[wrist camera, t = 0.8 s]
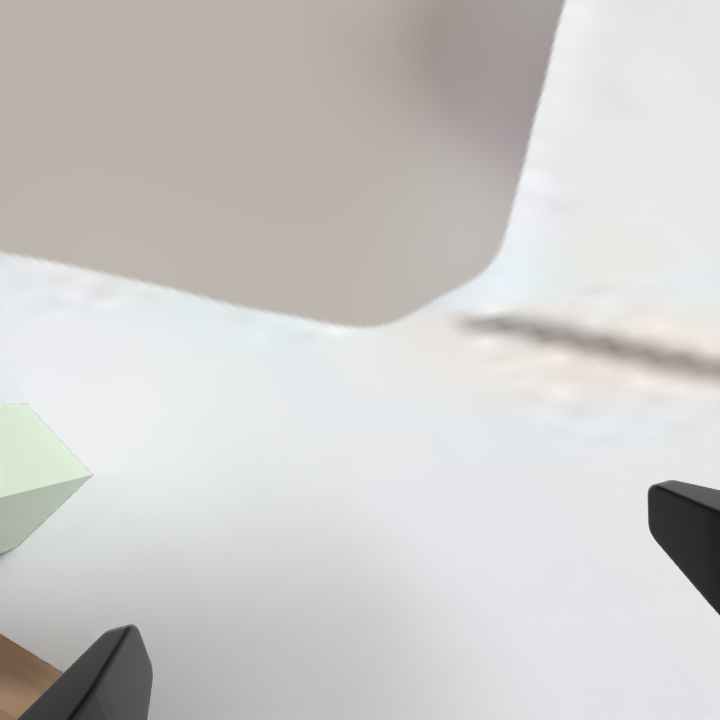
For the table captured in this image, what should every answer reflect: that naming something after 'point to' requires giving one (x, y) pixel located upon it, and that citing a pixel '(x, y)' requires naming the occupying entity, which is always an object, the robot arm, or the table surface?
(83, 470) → the block
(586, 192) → the table surface
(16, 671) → the plinth
